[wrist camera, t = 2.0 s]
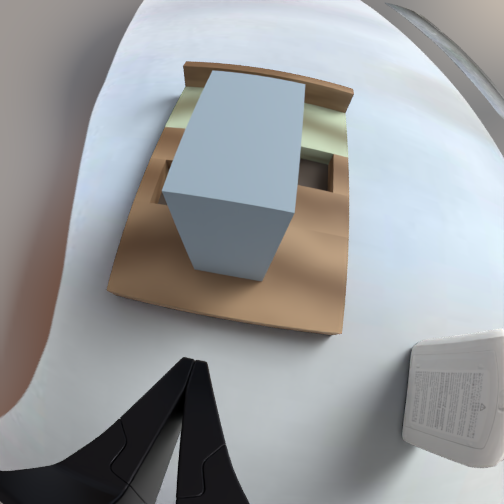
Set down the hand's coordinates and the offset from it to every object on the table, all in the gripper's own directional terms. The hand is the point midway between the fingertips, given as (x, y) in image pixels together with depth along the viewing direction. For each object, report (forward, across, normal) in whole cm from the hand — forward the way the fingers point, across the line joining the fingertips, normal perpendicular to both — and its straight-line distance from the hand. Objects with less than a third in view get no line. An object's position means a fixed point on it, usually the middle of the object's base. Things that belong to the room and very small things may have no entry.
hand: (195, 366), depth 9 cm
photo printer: (+7, -19, +10) cm, 23 cm away
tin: (+14, 0, 0) cm, 14 cm away
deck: (+18, 0, -1) cm, 19 cm away
